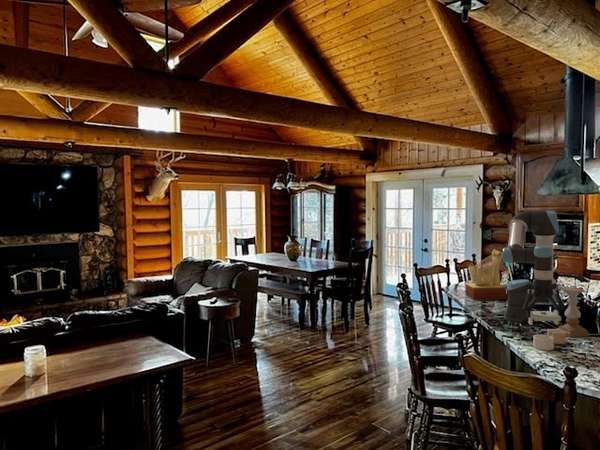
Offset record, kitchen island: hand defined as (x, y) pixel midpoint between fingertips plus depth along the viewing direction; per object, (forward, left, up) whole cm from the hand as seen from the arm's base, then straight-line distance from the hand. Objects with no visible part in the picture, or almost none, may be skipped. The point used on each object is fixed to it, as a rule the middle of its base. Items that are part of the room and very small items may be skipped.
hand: (543, 324), depth 213 cm
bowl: (0, 0, -11) cm, 11 cm away
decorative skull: (-154, +24, -12) cm, 156 cm away
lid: (0, 0, +3) cm, 3 cm away
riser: (-9, +10, -11) cm, 18 cm away
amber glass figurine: (-114, +9, -12) cm, 115 cm away
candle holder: (-22, +24, -12) cm, 35 cm away
